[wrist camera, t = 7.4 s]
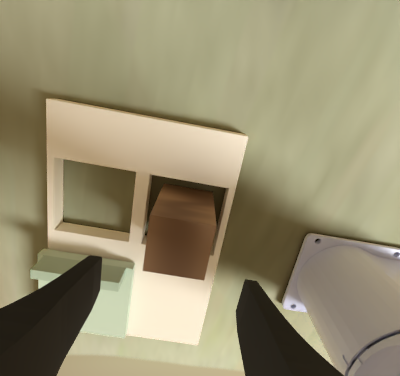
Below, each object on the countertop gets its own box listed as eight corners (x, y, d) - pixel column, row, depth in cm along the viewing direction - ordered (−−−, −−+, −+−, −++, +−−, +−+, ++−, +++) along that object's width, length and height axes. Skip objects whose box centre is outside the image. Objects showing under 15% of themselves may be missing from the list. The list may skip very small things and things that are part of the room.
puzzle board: (245, 134, 19) (248, 136, 18) (198, 332, 26) (197, 345, 25) (57, 98, 19) (46, 98, 17) (56, 312, 25) (48, 323, 24)
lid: (135, 262, 21) (126, 284, 19) (127, 330, 24) (118, 357, 21) (43, 248, 21) (22, 268, 19) (44, 319, 23) (26, 344, 21)
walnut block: (212, 191, 21) (216, 225, 15) (203, 234, 22) (204, 280, 17) (164, 183, 21) (149, 214, 15) (157, 226, 22) (142, 270, 16)
